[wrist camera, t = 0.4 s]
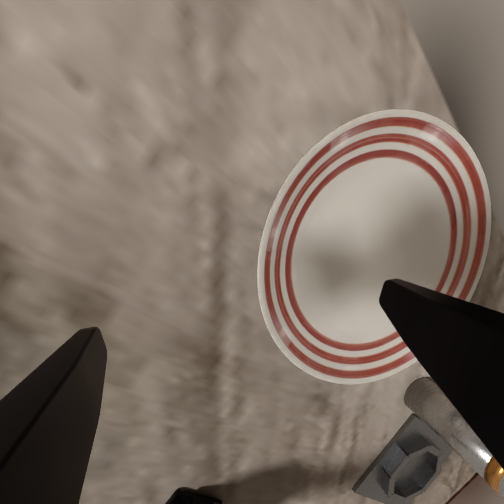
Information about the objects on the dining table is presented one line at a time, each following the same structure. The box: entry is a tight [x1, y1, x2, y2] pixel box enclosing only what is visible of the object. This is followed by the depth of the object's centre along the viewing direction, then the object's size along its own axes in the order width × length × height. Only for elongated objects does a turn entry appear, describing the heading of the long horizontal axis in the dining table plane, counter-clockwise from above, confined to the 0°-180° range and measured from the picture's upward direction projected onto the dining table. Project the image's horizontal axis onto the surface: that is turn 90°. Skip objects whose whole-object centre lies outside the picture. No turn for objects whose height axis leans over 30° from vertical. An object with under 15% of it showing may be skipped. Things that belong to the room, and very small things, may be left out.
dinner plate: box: [257, 109, 491, 384], centre depth 27 cm, size 27×27×3 cm
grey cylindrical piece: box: [404, 377, 504, 497], centre depth 31 cm, size 5×5×12 cm
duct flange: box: [352, 414, 453, 504], centre depth 39 cm, size 14×14×2 cm
